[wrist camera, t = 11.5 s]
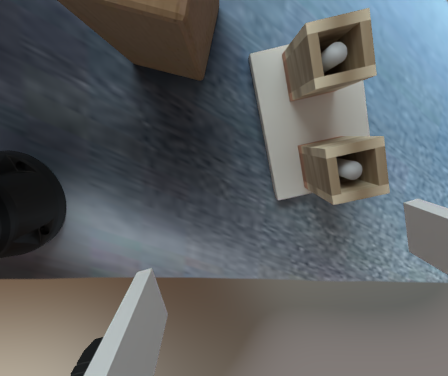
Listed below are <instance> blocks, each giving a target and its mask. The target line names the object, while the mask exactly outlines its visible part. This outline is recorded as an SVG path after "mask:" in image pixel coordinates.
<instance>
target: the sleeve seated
mask: <svg viewBox="0 0 448 376" xmlns="http://www.w3.org/2000/svg"><path fill="white" fill-rule="evenodd" d="M334 42H342V43H343V44H345V46H346V47H347V56H346V58H345V60H344V61H343V62H341V63H339V64H338V65H336V66H334V67H333V68H331V69H329V70H328V71H326V72H325V73H324V72H323V65H322V58H321V52H323V51H324V50H325V49H326V48H328V47H329V46H330V45H331V44H333V43H334ZM282 60H283V65H284V71H285V77H286V83H287V89H288V95H289V101H290V102H291V101H295V100H300V99H304V98H308V97H313V96H317V95H321V94H326V93H330V92H334V91H337V90H339V89H342V88H345V87H347V86H350V85H352V84H355V83H357V82H360V81H363V80H365V79H368V78H370V77H373V76H375V75H377V74H376V65H375V55H374V46H373V37H372V28H371V19H370V10H369V8H367V9H363V10H359V11H354V12H350V13H346V14H342V15H338V16H334V17H329V18H325V19H321V20H317V21H313V22H308V23H305V25H304V26H303V27H302V29H301V30H300V31H299V33H298V34H297V35H296V36H295V38H294V39H293V40H292V42H291V43H290V44H289V46H288V47H287V48H286V50H285V51H284V52H283V54H282Z"/></svg>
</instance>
